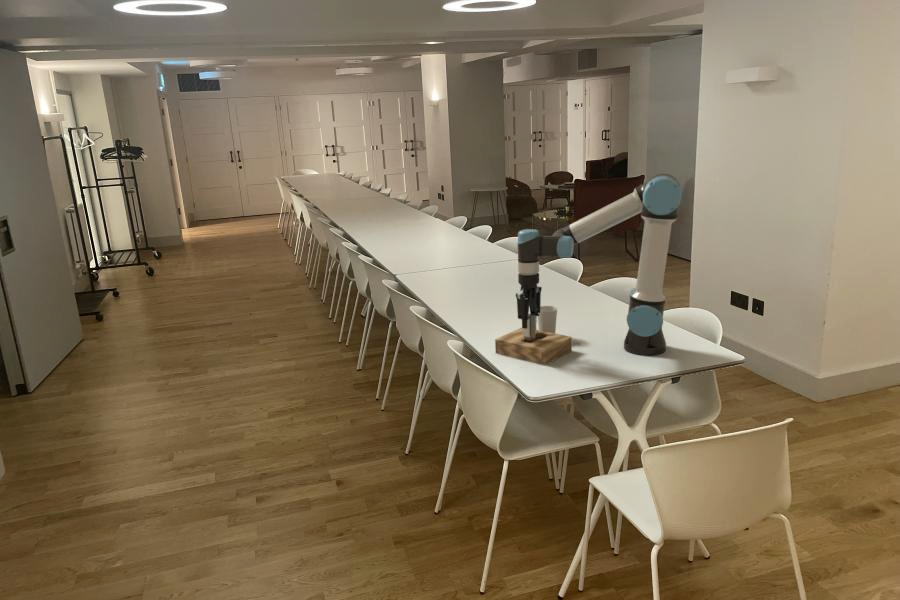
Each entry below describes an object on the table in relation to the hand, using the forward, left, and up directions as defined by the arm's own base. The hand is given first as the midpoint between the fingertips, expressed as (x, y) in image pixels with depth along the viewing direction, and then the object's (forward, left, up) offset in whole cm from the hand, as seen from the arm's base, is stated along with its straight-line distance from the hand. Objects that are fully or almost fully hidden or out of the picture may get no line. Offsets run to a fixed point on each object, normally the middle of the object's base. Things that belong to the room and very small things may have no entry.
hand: (529, 334), depth 244 cm
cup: (+5, -19, -8) cm, 22 cm away
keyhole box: (0, -2, -8) cm, 8 cm away
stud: (0, 0, -8) cm, 8 cm away
